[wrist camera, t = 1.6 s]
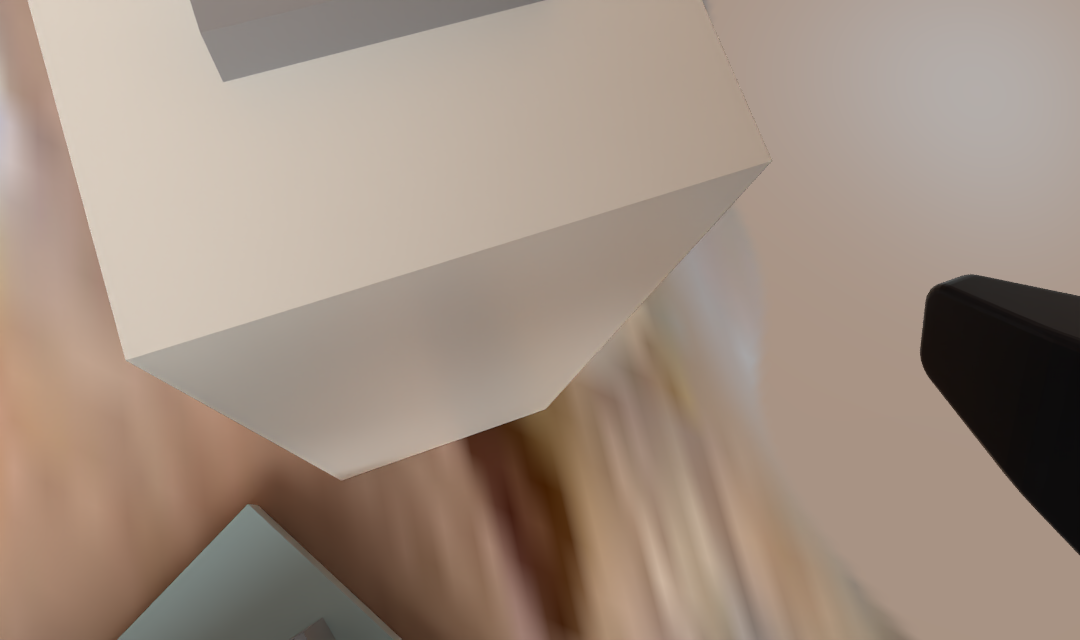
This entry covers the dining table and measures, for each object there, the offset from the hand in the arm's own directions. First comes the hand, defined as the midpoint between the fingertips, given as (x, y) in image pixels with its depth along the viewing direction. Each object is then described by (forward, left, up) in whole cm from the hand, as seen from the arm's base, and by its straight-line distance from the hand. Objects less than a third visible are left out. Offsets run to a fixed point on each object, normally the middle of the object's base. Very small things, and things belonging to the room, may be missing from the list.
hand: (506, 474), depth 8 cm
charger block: (+3, -2, -10) cm, 11 cm away
